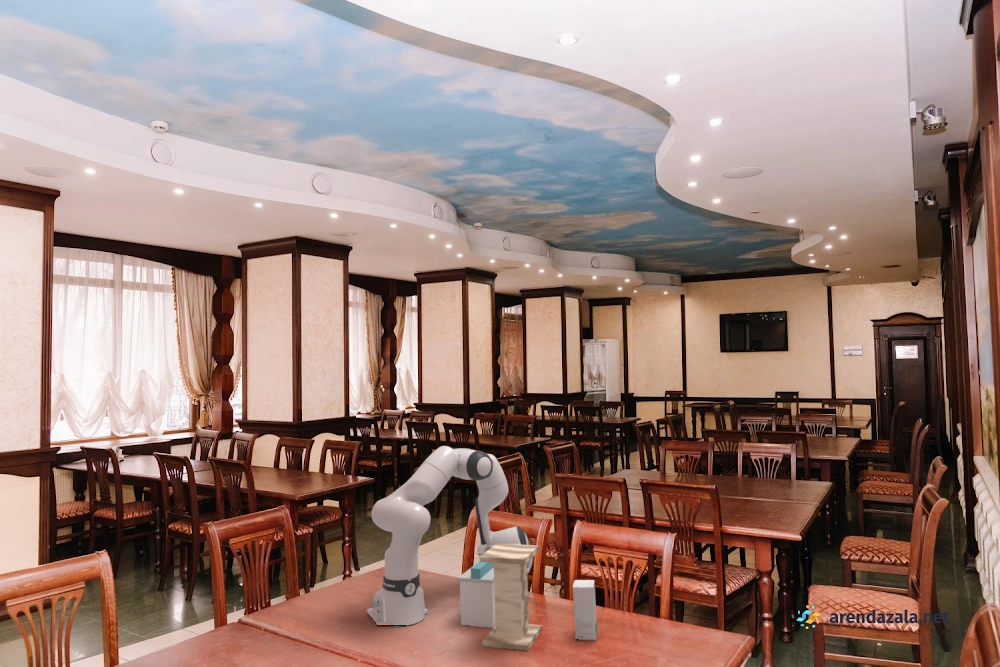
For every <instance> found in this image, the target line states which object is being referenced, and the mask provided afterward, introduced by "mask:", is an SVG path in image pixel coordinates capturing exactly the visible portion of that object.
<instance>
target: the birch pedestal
mask: <svg viewBox="0 0 1000 667" xmlns="http://www.w3.org/2000/svg"><path fill="white" fill-rule="evenodd" d="M539 551H540V545H537V544H536V545H535V544H534V545H533V544H529V545H519V544H500V543H497V544H495V545H494V546H493V547H492V548H490V549H489V550H488V551H486V552H485V553H484V554H483V555H481V556H478V557H479V561H480V562H488V563H494V588H495V618H496V626H495V627H494V628H491V630H490V632H489V633H488V634H487V635H486V636H485V637H484V638H483V639H482V641H481V644H482V645H481V646H482V647H486V648H495V649H504V648H506V649H507V650H513V649H516V650H515V651H523V650H524V651H526V652H528V651H529V650H530V648H532V645H533V644H534V643H535V641H536V640H537V638H538V637H539V636H540V634H541V633H540V632H542V631H543V625H542V624H541V625H540V624H533V623H531V624H530V614H529V591H528V590H529V589H528V588H529V586H528V574H527V562H528V561H529V560H530V559H531V558H532V557H533V558H534V556H535V555H536V554H537V553H538V552H539ZM537 636H538V637H537ZM535 639H536V640H535ZM533 642H534V643H533ZM506 649H505V650H506Z"/></svg>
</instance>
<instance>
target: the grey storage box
mask: <svg viewBox="0 0 1000 667" xmlns="http://www.w3.org/2000/svg"><path fill="white" fill-rule="evenodd" d="M477 563H478V562H477ZM477 563H475V564H477ZM473 566H474V565H472V566H471V567H470V568H469V569H467V570H466V571H465V572H464V573H462V574H461V575H460V576H459V577H458V576H457V582H459V599H460V600H459V601H460V602H459V604H460V605H459V606H460V607H459V608H460V625H461V626H465V625H470V626H469V627H476V626H477V627H478V628H487V627H488V629H493V628H494V627H495V626H496V618H495V588H494V568H492V569H491V570H490V571H489V572H488V573H487V574H486V575H484V576H483V577H482V578H481V579H473V578H471V568H472V567H473ZM477 627H476V628H477Z"/></svg>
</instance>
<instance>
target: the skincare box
mask: <svg viewBox="0 0 1000 667" xmlns="http://www.w3.org/2000/svg"><path fill="white" fill-rule="evenodd" d="M572 584H573V585H572V600H573V618H574V619H573V620H574V632H575V633H574V635H575V636H574V637H575V640H576V639H579V640H578V641H597V635H598V622H597V620H598V619H597V607H596V606H597V605H596V586H595V580H594V579H575V580H574V581H573V583H572Z"/></svg>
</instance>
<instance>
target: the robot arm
mask: <svg viewBox="0 0 1000 667" xmlns="http://www.w3.org/2000/svg"><path fill="white" fill-rule="evenodd" d="M452 477H454V478H459V479H461V480H468V481H469V480H470V481H475V482H476V486H477V488H478V496H477V497H476V499H475V502H474V504H475V505H474V506H475V516H476V522H477V527H478V533H479V538H480V544H479V545H478V547H477V550H476V552H477V553H476V554H477V556H478V557H480V556H481V555H483V554H484V553H485V552H486V551H488V550H489V549H490V548H492V547H493V546H494V545H495V544H497V543H500V544H519V545H530V541H529V540H530V539H529V536H528V534H527V533H526V531H525V529H523V528H522V527H520V526H513V527H512V526H511V527H509V528H504V529H501V530H498V531H492V530H491V526H490V521H489V516H488V514H490V512H491V511H492V510H494V509H495V508H496V507H498V506H500V505H501V504H502V503H503V502H504V500H506V498H507V497H508V494H509V485H508V481H507V478H506V475H505V473H504V470H503V468H502V466H501V465H500V462H499V461H498V459H497V457H496V456H495V455H493V454H490V453H486V452H484V451H482V450H475V449H471V448H465V447H464V448H462V447H461V448H459V447H450V446H448V445H441V446H439V447H438V448H437V449H435V450H434V451H433V452H432V453H431V454H430V455H429V456H428V457H426V459H425V460H424V461H423V462H422V464H420V465H419V467H418V468H417V470H416V471H415V472H414V473H413V474H412V476H411V477H410V478H408V480H407V481H406V482H405V483H404V484H402V485H401V486H400V487H398V488H397V489H396V490H395V491H393V492H392V493H391V494H389V495H388V496H386V497H384V498H381V499H379V500H377V501H376V502H375V504H374V505H373V506H372V509H371V519H372V522H373V524H375V525H376V526H377V527H378V528H380V529H381V530H383V531H386V532H390V533H391V535H392V537H391V543H390V546H389V547H388V548H387V549H386V551H384V552H385V553H384V575H383V576H382V577H383V578H382V586H381V588H380V589H379V590H378V591H377V592H376V593H375V594H374V596H373V599H372V600H371V607H369V608H367V609H366V612H367V611H368V613H369V614H370V616H371V617H372V618H373V619H374V621H375V622H376V624H379V625H380V624H390V625H406V626H411V625H414V624H415V625H416V624H417V623H419V622H421V621H423V620H424V619H425V616H426V615H425V614H429V610H428V608H426V606H425V598H424V597H425V596H424V590H423V588H422V587H421V586H420V584H421V577H420V573H419V548H420V543H421V540H422V537H423V535H424V534H426V532H427V531H428V530H429V528H430V525H431V519H432V518H431V514H430V512H429V510H428V509H427V508H426V507H424V506H425V505H427V504H429V503H431V502H433V501H434V500H435V499H436V498H437V496H438V495H439V494H440V493H441V492H442V490H443V488H444V487H445V486H446V485H447V483H448V482H449V481H450V480H451V478H452ZM533 558H534V556H533V557H532V558H531V559H530V560H529V561H528V562H527V575H528V574H529V573H530V570H531V568H532V566H533ZM372 607H374V608H372ZM370 616H369V617H370ZM374 621H373V622H374ZM376 624H375V625H376Z"/></svg>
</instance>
